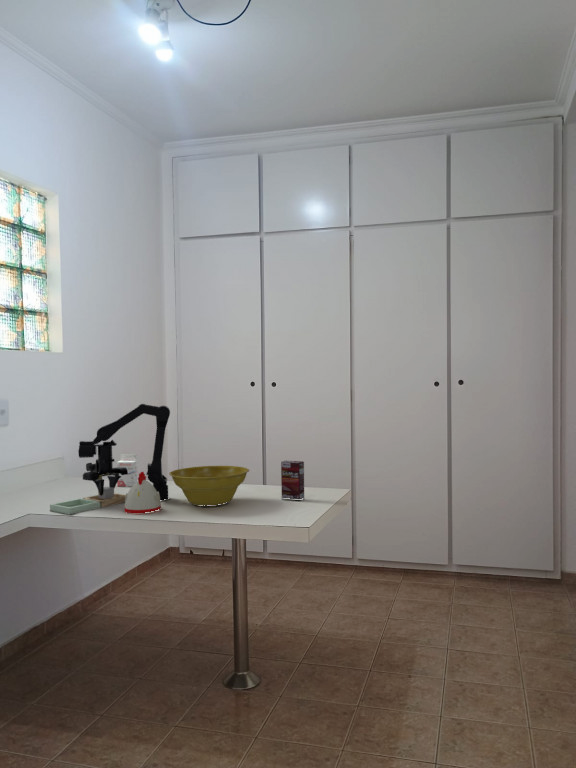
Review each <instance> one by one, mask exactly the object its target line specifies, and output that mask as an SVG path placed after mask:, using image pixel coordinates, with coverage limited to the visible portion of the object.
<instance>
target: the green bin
mask: <svg viewBox="0 0 576 768" xmlns="http://www.w3.org/2000/svg"><path fill="white" fill-rule="evenodd" d="M95 509H101V507H100V502H98V501H92V500H86V499H83V498H76V499H69V500H66V501H61V502H55V503H51V504H49V511H50V512H55V513H58V514H59V513H60V514H64V515H69V516H71V515H75V514H76V513H81V512H86V511H91V510H95Z"/></svg>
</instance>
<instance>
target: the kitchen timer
mask: <svg viewBox="0 0 576 768" xmlns="http://www.w3.org/2000/svg"><path fill="white" fill-rule="evenodd" d="M125 495H126V497H125V502H124V512H125V513H126V512H127V513H126V514H129V513H145V512H151V511H155V510H158V509H160V508H161V509H162V501H161V502H160V495H159V492H157V491H156V489H155V488H154V486H153V483H152V482H150V481H149V480H147V475H146V474H145V472H144V471H140V472H139V473H138V476H137V482H136V483H135V484H134V485H133V486H132V487H130V488H129V490H128V493H127V492H126V493H125Z"/></svg>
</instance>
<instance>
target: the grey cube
mask: <svg viewBox="0 0 576 768" xmlns="http://www.w3.org/2000/svg"><path fill="white" fill-rule="evenodd" d="M97 492H98V493H97V495H98V498H101V499H108V498H113V497H114V493H115V488H113V487H109V486H104V489H103V495H102V496H101V495H100V493H99V491H98V490H97Z"/></svg>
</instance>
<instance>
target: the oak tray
mask: <svg viewBox="0 0 576 768" xmlns="http://www.w3.org/2000/svg"><path fill="white" fill-rule="evenodd" d="M125 497H126V494H122V493H115V492H114V497H113V498H108V499H101V498H98V494H96V495H91V496H87V497H86V496H85V497H82V499H86V500H92V501H98V502H100V508H104V507H109V506H113V505H118V504H123V503H125Z"/></svg>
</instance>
